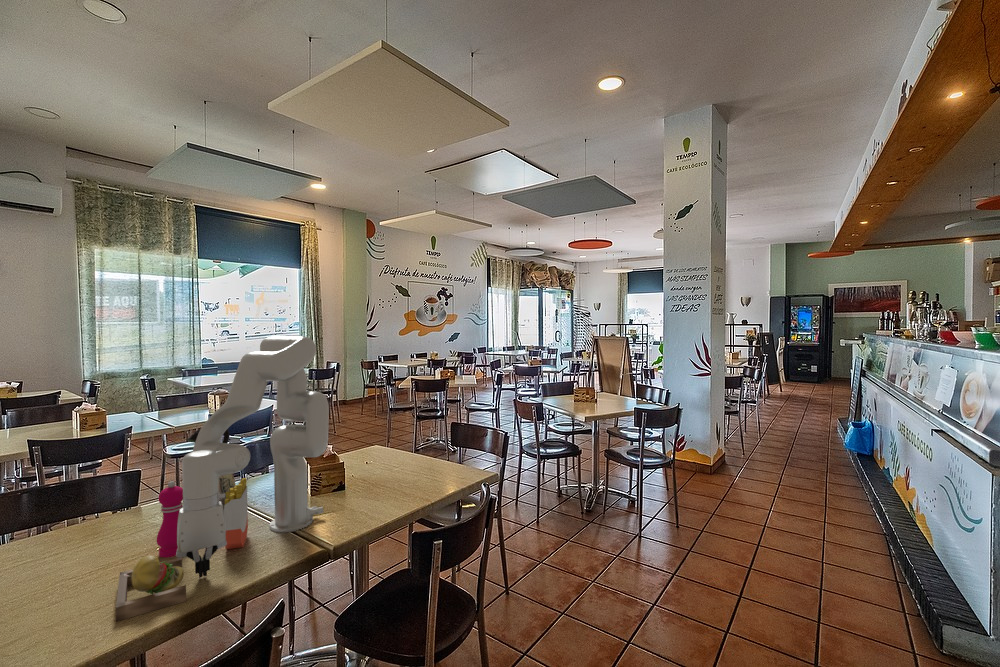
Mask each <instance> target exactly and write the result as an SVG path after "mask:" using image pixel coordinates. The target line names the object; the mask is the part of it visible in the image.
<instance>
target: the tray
mask: <svg viewBox="0 0 1000 667" xmlns="http://www.w3.org/2000/svg"><path fill="white" fill-rule="evenodd" d="M164 561H165V560H164ZM165 563H169V564H172V567H176V566H177V567H178V566H179V567H182V568H183V557H176V558H173V559H170V560H169V559H168V560H166V561H165ZM133 569H134V568H133ZM133 569H129V570H124V571H121V572H119V576H118V577H119V578H118V586H117V594H116V603H115V622H120V621H123V620H126V619H129V618H133V617H137V616H139V615H143V614H147V613H149V612H150V613H151V612H153V611H156V610H161V609H164V608H166V607H170V606H174V605H176V604H180V603H184V602H187V586H186V585H187V584H184V585H181V586H178V587H177V586H176V587H175V588H173V589H170V590H166V591H163V592H159V593H153V594H148V595H145V596H142V597H138V598H135V599H131V600H127V599H128V587H129V586H130V585H131V586H132V585H133V584H132V572H133ZM124 574H126V575H129V577H124Z"/></svg>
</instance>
